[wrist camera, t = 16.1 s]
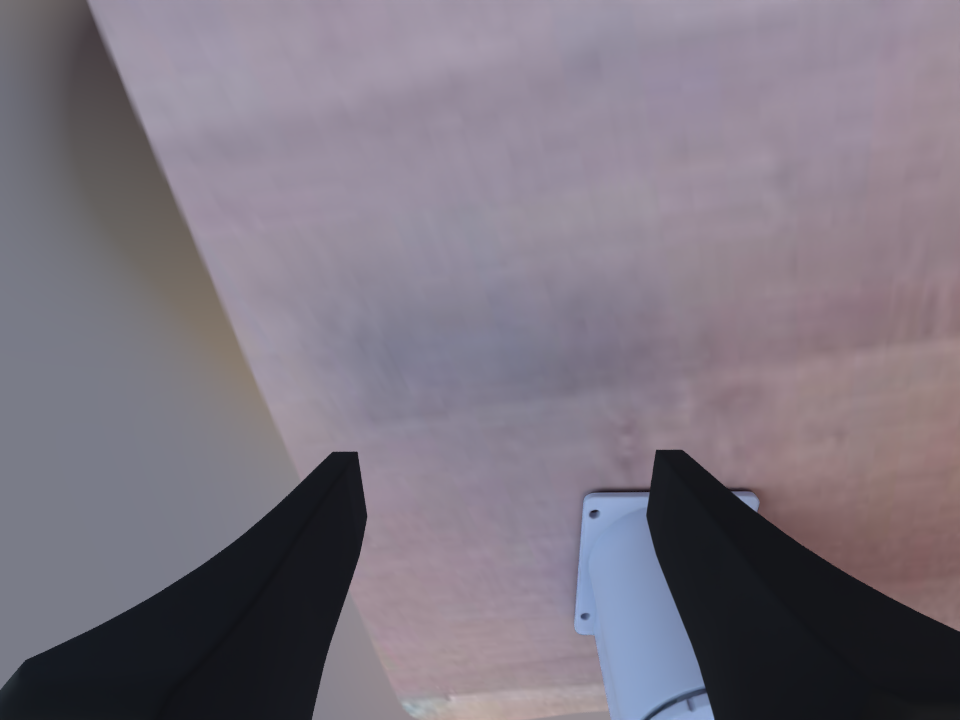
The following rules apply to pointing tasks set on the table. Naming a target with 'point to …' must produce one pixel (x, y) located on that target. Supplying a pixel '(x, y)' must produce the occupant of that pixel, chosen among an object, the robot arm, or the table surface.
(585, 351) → the table surface
